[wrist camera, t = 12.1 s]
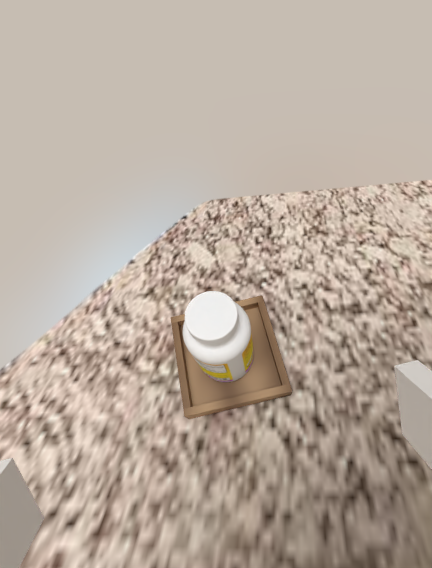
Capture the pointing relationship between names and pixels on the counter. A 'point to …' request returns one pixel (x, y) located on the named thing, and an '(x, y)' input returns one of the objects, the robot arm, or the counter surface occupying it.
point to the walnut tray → (245, 391)
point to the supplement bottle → (218, 336)
